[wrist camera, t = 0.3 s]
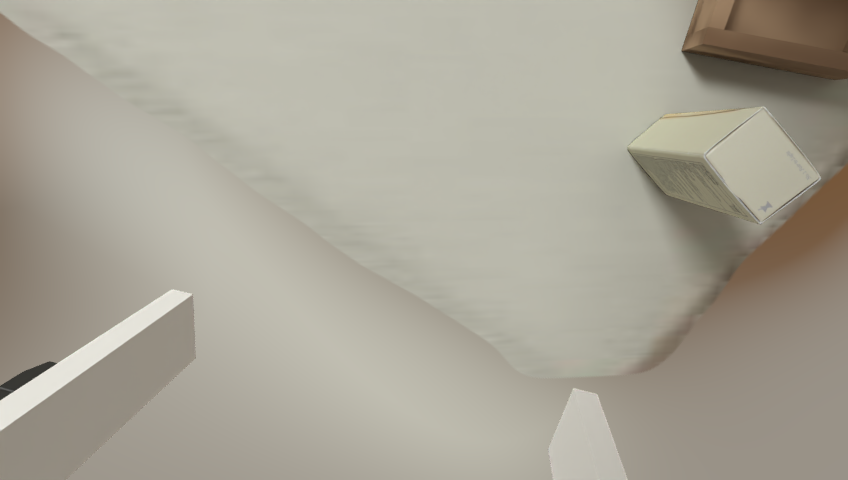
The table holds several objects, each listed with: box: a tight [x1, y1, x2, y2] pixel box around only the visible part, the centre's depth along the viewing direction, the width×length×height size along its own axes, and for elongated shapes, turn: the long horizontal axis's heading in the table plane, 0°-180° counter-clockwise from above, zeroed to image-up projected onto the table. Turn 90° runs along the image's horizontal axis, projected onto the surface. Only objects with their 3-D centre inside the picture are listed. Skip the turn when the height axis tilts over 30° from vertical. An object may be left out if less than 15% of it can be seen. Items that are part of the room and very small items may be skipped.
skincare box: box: [627, 107, 821, 224], centre depth 30 cm, size 6×4×12 cm
